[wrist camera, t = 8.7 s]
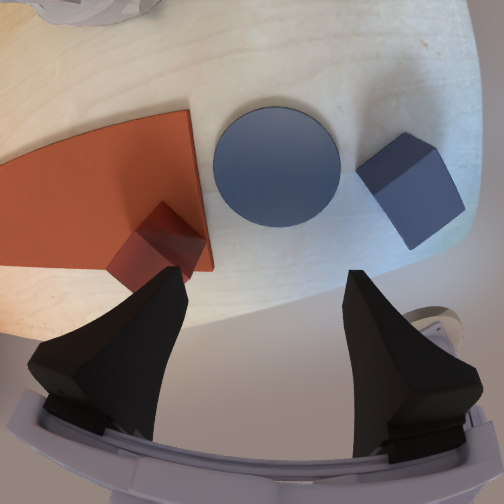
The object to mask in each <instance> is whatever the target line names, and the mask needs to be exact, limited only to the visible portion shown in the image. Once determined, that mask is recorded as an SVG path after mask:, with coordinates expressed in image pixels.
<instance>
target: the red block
mask: <svg viewBox="0 0 504 504" xmlns="http://www.w3.org/2000/svg"><path fill="white" fill-rule="evenodd" d="M206 243H207V240H205V239H204V238H203V237H202V236H201V235H200V234H199V233H198V232H196V231H195V230H194V229H193V228H192V227H191V226H190V225H189V224H188V223H186V222H185V221H184V220H183V219H182V218H181V217H180V216H179V215H178V214H176V213H175V212H174V211H173V210H172V209H171V208H170V207H169V206H168V205H167V204H165V203H164V202H163V201H161V202H160V203H159V204H158V205H157V206H156V207H155V208H154V209H153V210H152V212H151V213H150V214H149V215H148V216H147V217H146V218H145V219H144V220H143V221H142V223H141V224H140V225H139V226H138V227H137V228H136V229H135V230H134V232H133V233H132V234H131V235H130V237H129V238H128V239H127V241H126V242H125V243H124V244H123V246H122V247H121V248H120V250H119V251H118V252H117V254H116V255H115V256H114V258H113V259H112V260H111V262H110V263H109V265H108V266H107V267H106V270H107V271H108V272H109V273H110V274H111V275H112V276H113V277H115V278H116V279H117V280H118V281H119V282H121V283H122V284H123V285H124V286H125V287H127V288H128V289H129V290H130V291H131V292H133V293H135V292H136V291H137V290H138V289H140V288H141V287H142V286H143V285H144V284H146V283H147V282H148V281H149V280H150V279H152V278H153V277H154V276H155V275H156V274H158V273H159V272H160V271H161V270H163V269H164V268H165V267H167V266H180V268H181V272H182V276H183V281H184V284H185V283H186V282H187V281H188V280H190V279H191V276H192V274H193V272H194V270H195V267H196V265H197V263H198V261H199V259H200V256H201V254H202V252H203V250H204V248H205V246H206Z"/></svg>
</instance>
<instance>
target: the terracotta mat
mask: <svg viewBox="0 0 504 504" xmlns="http://www.w3.org/2000/svg"><path fill="white" fill-rule="evenodd" d="M161 201H163V202H164V203H165V204H167V205H168V206H169V207H170V208H171V209H172V210H173V211H174V212H175V213H176V214H178V215H179V216H180V217H181V218H182V219H183V220H184V221H185V222H186V223H188V224H189V225H190V226H191V227H192V228H193V229H194V230H195V231H196V232H198V233H199V234H200V235H201V236H202V237H203V238H204V239H205V240H207V243H206V246H205V248H204V250H203V252H202V254H201V256H200V259H199V261H198V263H197V265H196V267H195V270H194V271H204V272H212V271H213V269H214V263H213V258H212V252H211V247H210V241H209V236H208V230H207V224H206V219H205V213H204V207H203V201H202V194H201V188H200V182H199V176H198V169H197V162H196V156H195V149H194V142H193V135H192V127H191V120H190V112H189V110H182V111H176V112H170V113H164V114H159V115H154V116H149V117H145V118H140V119H136V120H131V121H127V122H123V123H119V124H115V125H111V126H107V127H104V128H100V129H97V130H93V131H90V132H87V133H83V134H80V135H77V136H74V137H71V138H68V139H65V140H62V141H59V142H56V143H53V144H51V145H48V146H45V147H43V148H40V149H38V150H35V151H33V152H30V153H28V154H25V155H23V156H20V157H18V158H16V159H14V160H11V161H9V162H7V163H5V164H3V165H1V166H0V265H2V266H22V267H44V268H70V269H100V270H106V267H107V266H108V265H109V263H110V262H111V260H112V259H113V258H114V256H115V255H116V254H117V252H118V251H119V250H120V248H121V247H122V246H123V244H124V243H125V242H126V241H127V239H128V238H129V237H130V235H131V234H132V233H133V232H134V230H135V229H136V228H137V227H138V226H139V225H140V224H141V223H142V221H143V220H144V219H145V218H146V217H147V216H148V215H149V214H150V213H151V212H152V210H153V209H154V208H155V207H156V206H157V205H158V204H159V203H160V202H161Z"/></svg>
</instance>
